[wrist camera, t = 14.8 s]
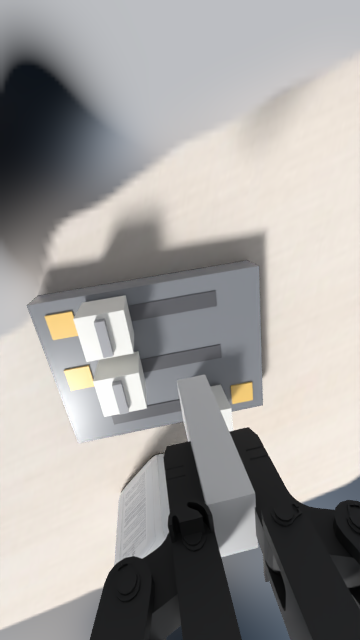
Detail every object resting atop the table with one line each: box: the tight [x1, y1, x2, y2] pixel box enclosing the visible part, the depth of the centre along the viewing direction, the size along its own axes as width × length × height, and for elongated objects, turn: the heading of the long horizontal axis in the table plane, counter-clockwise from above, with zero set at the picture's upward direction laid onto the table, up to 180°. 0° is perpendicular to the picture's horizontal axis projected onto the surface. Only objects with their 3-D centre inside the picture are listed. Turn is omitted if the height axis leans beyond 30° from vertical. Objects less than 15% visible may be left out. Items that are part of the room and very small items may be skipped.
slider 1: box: [73, 295, 134, 362], centre depth 25 cm, size 4×4×5 cm
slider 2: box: [210, 384, 233, 432], centre depth 30 cm, size 4×4×5 cm
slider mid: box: [93, 351, 147, 417], centre depth 27 cm, size 4×4×5 cm
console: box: [27, 260, 263, 443], centre depth 31 cm, size 22×17×3 cm
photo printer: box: [114, 454, 170, 566], centre depth 35 cm, size 10×4×12 cm, turn 143°
